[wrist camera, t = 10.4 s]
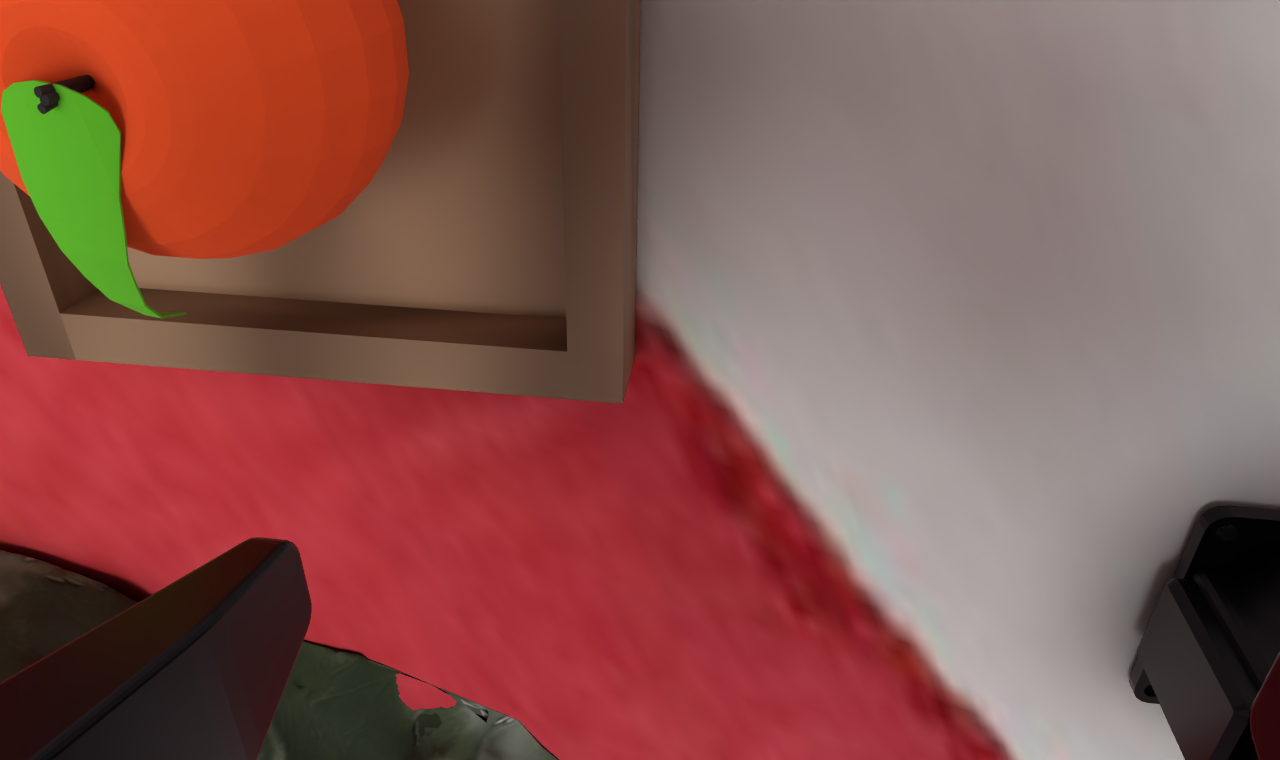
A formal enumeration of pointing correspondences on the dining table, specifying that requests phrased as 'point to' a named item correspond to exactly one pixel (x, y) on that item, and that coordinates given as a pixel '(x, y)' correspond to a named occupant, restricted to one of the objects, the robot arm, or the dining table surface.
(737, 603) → the dining table surface
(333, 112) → the clementine
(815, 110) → the dining table surface
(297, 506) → the dining table surface
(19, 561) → the rose bouquet
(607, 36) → the walnut dish
